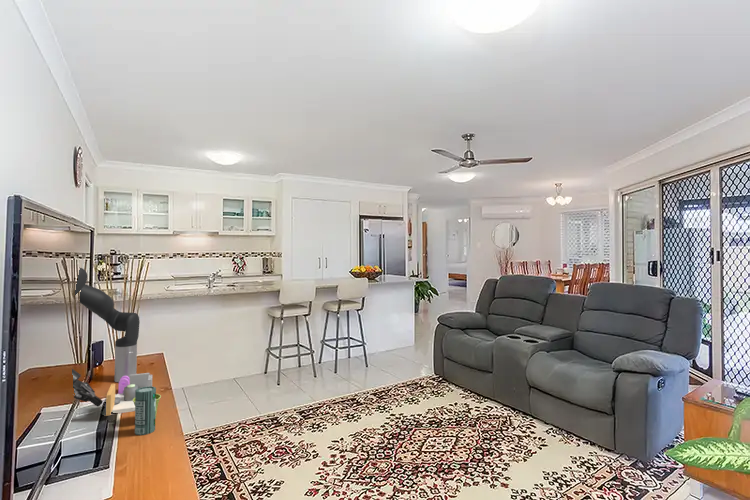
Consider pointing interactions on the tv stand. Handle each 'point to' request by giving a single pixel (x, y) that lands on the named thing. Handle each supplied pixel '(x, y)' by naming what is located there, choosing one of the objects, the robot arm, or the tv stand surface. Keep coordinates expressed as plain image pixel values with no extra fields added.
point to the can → (145, 410)
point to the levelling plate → (123, 405)
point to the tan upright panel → (111, 400)
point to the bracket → (123, 383)
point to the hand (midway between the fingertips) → (100, 404)
